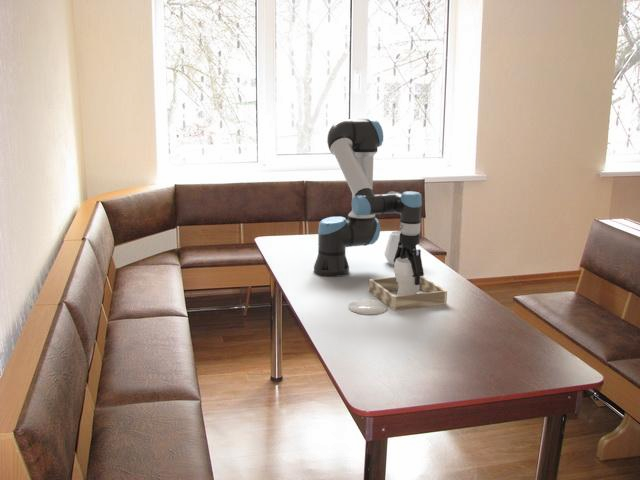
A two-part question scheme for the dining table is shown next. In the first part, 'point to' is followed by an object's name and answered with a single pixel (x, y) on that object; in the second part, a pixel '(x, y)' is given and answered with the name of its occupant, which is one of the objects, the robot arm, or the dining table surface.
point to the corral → (430, 298)
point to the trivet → (367, 307)
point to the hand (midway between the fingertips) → (407, 287)
